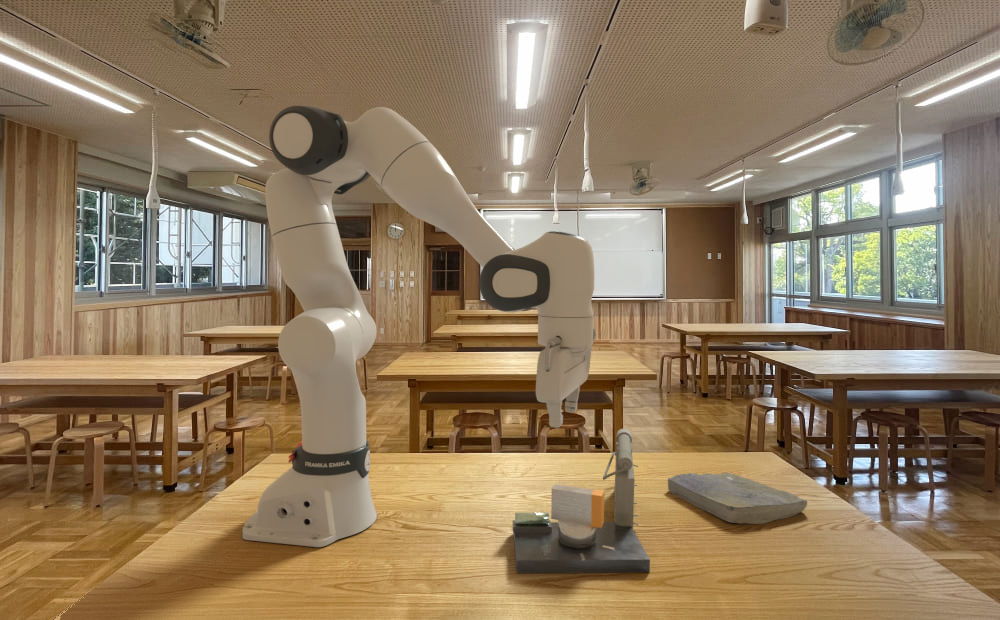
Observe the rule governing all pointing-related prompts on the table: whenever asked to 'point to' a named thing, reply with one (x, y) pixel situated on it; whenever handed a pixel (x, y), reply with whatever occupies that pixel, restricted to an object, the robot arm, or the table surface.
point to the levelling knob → (577, 514)
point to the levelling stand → (575, 549)
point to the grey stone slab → (735, 497)
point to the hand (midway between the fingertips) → (563, 418)
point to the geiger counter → (623, 479)
